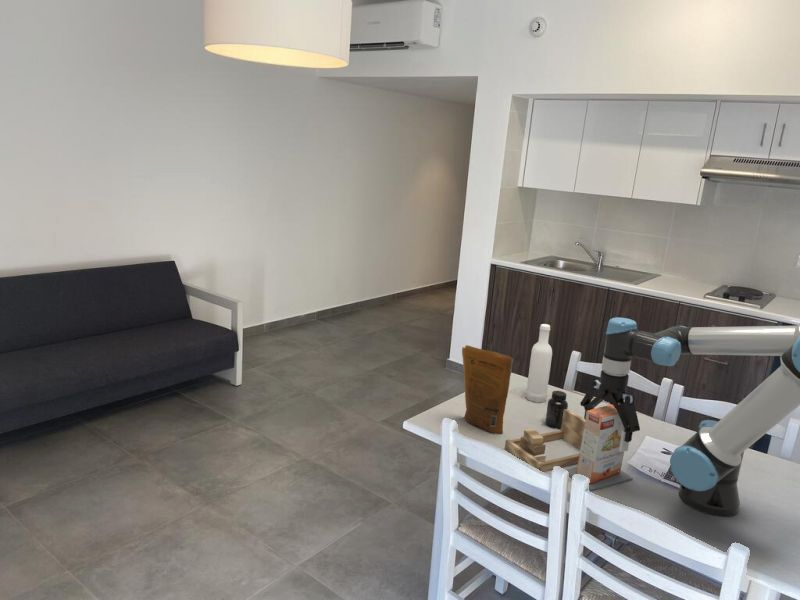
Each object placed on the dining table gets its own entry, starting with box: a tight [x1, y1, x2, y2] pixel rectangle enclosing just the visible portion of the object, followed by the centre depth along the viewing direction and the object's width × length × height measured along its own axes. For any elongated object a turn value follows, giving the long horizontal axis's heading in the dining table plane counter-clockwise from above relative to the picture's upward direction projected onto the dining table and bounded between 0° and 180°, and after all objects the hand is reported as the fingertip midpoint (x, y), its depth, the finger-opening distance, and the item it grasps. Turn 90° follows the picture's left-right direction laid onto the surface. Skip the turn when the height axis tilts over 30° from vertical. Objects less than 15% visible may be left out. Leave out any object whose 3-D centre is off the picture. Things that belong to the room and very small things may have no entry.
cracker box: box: [576, 404, 629, 484], centre depth 174 cm, size 14×6×21 cm, turn 124°
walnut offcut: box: [520, 436, 546, 456], centre depth 184 cm, size 7×4×3 cm, turn 27°
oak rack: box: [504, 409, 585, 473], centre depth 187 cm, size 16×24×10 cm, turn 118°
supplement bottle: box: [545, 390, 569, 430], centre depth 208 cm, size 7×7×12 cm
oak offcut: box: [522, 428, 544, 446], centre depth 183 cm, size 6×4×2 cm, turn 15°
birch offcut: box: [520, 446, 547, 462], centre depth 185 cm, size 8×4×3 cm, turn 24°
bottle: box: [525, 323, 553, 404], centre depth 228 cm, size 8×8×30 cm
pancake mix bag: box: [461, 344, 514, 435], centre depth 201 cm, size 7×19×28 cm, turn 46°
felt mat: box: [566, 466, 634, 492], centre depth 177 cm, size 11×17×1 cm, turn 118°
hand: (605, 440), depth 174 cm, fingers open, 13 cm apart
